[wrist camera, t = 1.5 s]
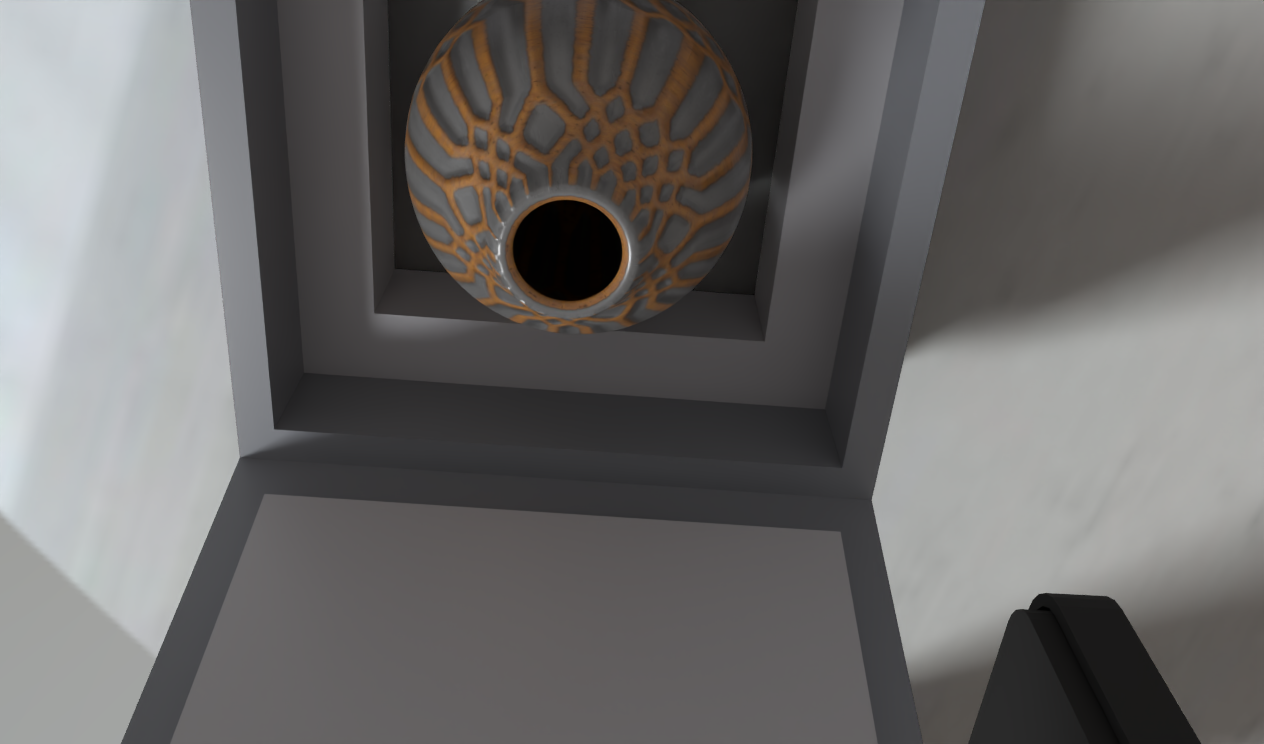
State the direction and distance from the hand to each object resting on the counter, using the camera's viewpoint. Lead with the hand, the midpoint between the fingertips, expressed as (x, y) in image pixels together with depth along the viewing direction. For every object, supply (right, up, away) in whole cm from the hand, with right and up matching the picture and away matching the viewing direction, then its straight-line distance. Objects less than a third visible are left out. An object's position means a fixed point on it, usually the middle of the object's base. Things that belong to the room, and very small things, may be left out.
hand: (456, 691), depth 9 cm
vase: (0, +9, +16) cm, 19 cm away
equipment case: (0, +9, +16) cm, 18 cm away
